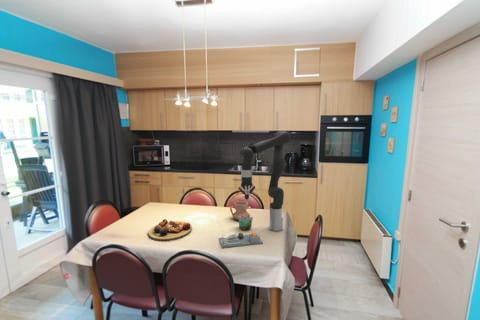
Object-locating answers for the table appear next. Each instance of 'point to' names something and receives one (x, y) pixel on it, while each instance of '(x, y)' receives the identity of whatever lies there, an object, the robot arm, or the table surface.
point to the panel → (241, 241)
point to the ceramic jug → (240, 209)
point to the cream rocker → (230, 235)
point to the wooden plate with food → (169, 230)
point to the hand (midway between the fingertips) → (246, 199)
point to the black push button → (240, 235)
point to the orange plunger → (253, 234)
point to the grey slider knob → (224, 239)
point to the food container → (245, 222)
